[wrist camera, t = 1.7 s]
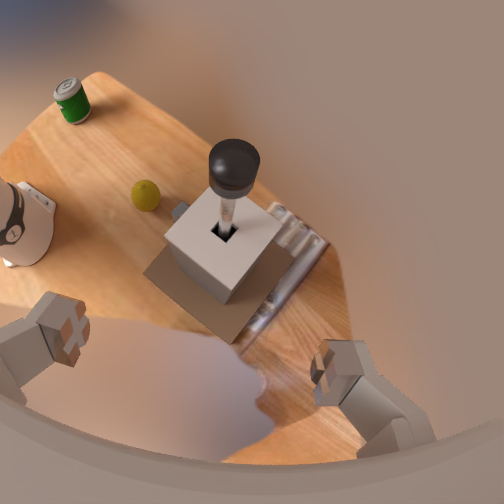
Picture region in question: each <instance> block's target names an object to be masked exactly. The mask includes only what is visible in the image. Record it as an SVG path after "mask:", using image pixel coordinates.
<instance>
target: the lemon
mask: <svg viewBox="0 0 504 504" xmlns="http://www.w3.org/2000/svg"><path fill="white" fill-rule="evenodd" d="M131 196H132V201H133V204H134V205H135V206H136V208H137V209H139V210H141V211H144V212H149V211H152V210H154V209H155V208H156V207H157V206H158V204H159V202H160V191H159V189H158V187H157V186H156V184H154V183H153V182H152V181H149V180H142V181H139V182H137V183H136V184H135V185H134V187H133V189H132V193H131Z"/></svg>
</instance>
